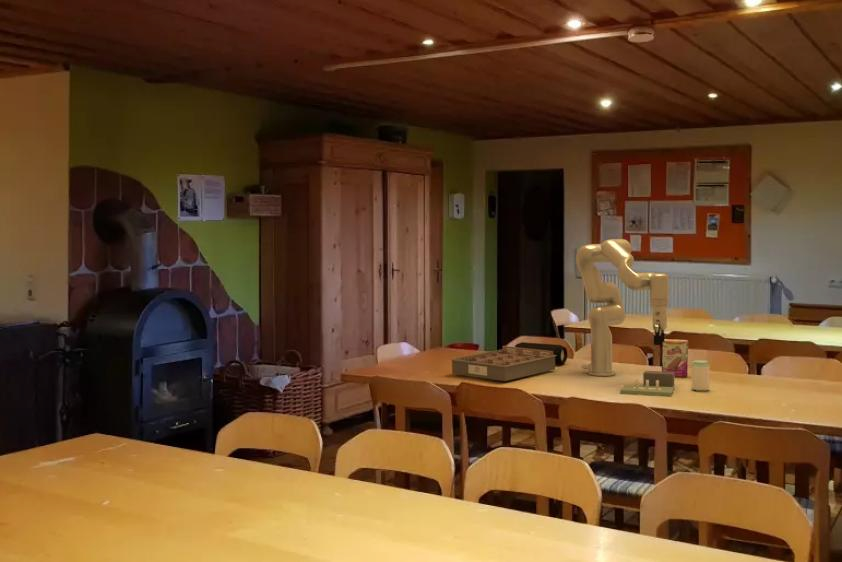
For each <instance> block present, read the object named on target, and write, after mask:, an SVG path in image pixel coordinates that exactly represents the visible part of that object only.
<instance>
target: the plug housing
mask: <svg viewBox="0 0 842 562" xmlns="http://www.w3.org/2000/svg"><path fill="white" fill-rule="evenodd" d="M642 374H643V376H642V377H643V381H642V383H643V384H642V385H643V386H646V380H649V386H656V380H659V386H661V387H675V377H674V372H662V370H661V371H660V370H659V371H658V370H657V371H656V370H644V372H643V373H642Z"/></svg>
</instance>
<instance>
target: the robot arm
mask: <svg viewBox="0 0 842 562" xmlns="http://www.w3.org/2000/svg"><path fill="white" fill-rule="evenodd" d="M576 252H577V253H576V256H575V257H576V259H575V261H576V262H575V263H576V266H577V268H578V270H579V273H580V276H581V279H582V283H583V287H584V290H585V294H586V298H587V300H588V302H589V303H591V304H601V305H596V306H593V307H592V308H591V309H589V312H588V322H589V328H590V346H591V347H590V363H589V364H581V369H583V370H587V374H588V375H589V376H593V377H611V376H615V375H616V371H615V370H613V335H612V332H611V330H610V328H609V326H617V325H618V326H619V325H621V324H623V323H624V321H625V319H626V312H625V308H624V303H623V299H622V296H621V295H622V294H621V292H620V290H619V287H618V285H617V284H615V282H610V281H607V282H605V281H603V279H602V275H601V272H600V270H599V269H598V267H597V266H595V264H594V263H609V262H610V263H611V264H612V265H613V266H614V267H615V268H616V269H617V274H618V278H619V280H620V281H621V283H623V285H625V286H626V287H627V288H628V289H630V290H631V291H636V292H637V291H649V307H651V308H652V329H653V331H654V332H653V345H654V346H662V342H664V339H665V330H667V328H668V321H667V315H668V314H667V307H669V275H668V274H666V273H656V272H652V271H651V272H634V271H633V270H632V269H631V268H632V266H633V265H634V262H635V260H634V259H635V258H634V256H633V255H632V254H631V253H632V245H631V243H630V242H629V241H628V240H627V239H624V238H617V239H616V238H615V239H614V238H613V239H607V240H604V241H603V242H602V243H591V244H585V245H583V246H581V247H579V248H578V250H577V251H576Z"/></svg>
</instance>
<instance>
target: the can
mask: <svg viewBox="0 0 842 562" xmlns="http://www.w3.org/2000/svg"><path fill="white" fill-rule="evenodd" d="M710 368H711V366H710V364H709V361H708V360H705V359H704V360H701V359H700V360H698V359H697V360H696V359H695V360H693V361H692V364H691V389H692V390H693V391H695V390H696V391H695V392H708V391H709V390H710V378H711V377H710V376H711V375H710V374H711V372H710Z"/></svg>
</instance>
